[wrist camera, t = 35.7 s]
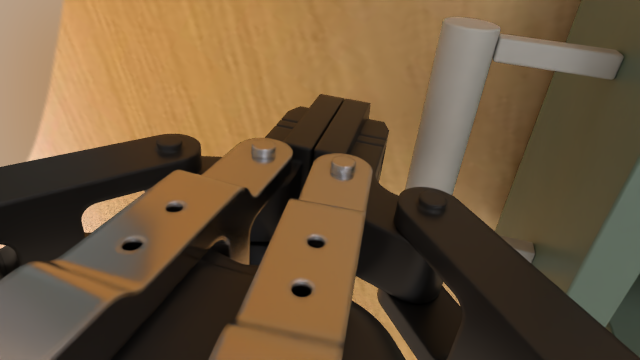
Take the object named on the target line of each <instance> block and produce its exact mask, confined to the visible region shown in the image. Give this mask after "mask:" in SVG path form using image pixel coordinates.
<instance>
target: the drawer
mask: <svg viewBox="0 0 640 360" xmlns="http://www.w3.org/2000/svg"><path fill="white" fill-rule="evenodd" d="M492 58H493V61H494V62H498V63H505V64H511V65H518V66H524V67H531V68H537V69H544V70H550V71H555V72H554V75H553V77H552V80H551V83H550V85H549V88H548V91H547V93H546V96H545V99H544V101H543V104H542V107H541V109H540V112H539V115H538V118H537V120H536V123H535V126H534V128H533V131H532V134H531V136H530V139H529V142H528V144H527V147H526V150H525V152H524V155H523V158H522V160H521V163H520V166H519V168H518V171H517V174H516V176H515V179H514V182H513V184H512V187H511V190H510V192H509V195H508V198H507V200H506V203H505V206H504V208H503V211H502V214H501V216H500V219H499V222H498V224H497V227H496V230H495V232H496V233H497V234H498V235H499V236H500V237H501V238H503V239H504V240H505V241H506V242H507V243H508V244H510V245H511V246H512V247H513V248H514V249H515V250H516V251H518V252H519V253H520V254H521V255H522V256H523V257H524V258H526V259H527V260H528V261H529V262H530V263H531V264H533V265H534V266H535V267H536V268H537V269H538V270H539V271H541V272H542V273H543V274H544V275H545V276H546V277H547V278H549V279H550V280H551V281H552V282H553V283H554V284H556V285H557V286H558V287H559V288H560V289H561V290H562V291H564V292H565V293H566V294H567V295H568V296H569V297H570V298H572V299H573V300H574V301H575V302H576V303H577V304H579V305H580V306H581V307H582V308H583V309H584V310H585V311H587V312H588V313H589V314H590V315H591V316H592V317H593V318H595V319H596V320H597V321H598V322H599V323H600V324H602V325H603V326H604V327H605V328H606V329H607V330H608V331H610V332H611V333H612V334H613V335H614V336H615V337H616V338H618V339H619V340H620V341H621V342H622V343H623V344H625V345H626V346H627V347H628V348H629V349H630V350H631V351H633V352H634V353H635V354H636V355H637V356H638V357H639V358H640V0H581V3H580V5H579V8H578V11H577V13H576V16H575V19H574V21H573V24H572V27H571V29H570V32H569V35H568V37H567V40H566V43H564V42H557V41H550V40H543V39H536V38H529V37H522V36H514V35H507V34H500V27H499V26H498V25H496V24H494V23H491V22H488V21H484V20H480V19H474V18H466V17H449V18H445V19H444V20H443V22H442V26H441V31H440V35H439V40H438V44H437V49H436V53H435V58H434V62H433V67H432V71H431V76H430V80H429V85H428V89H427V94H426V98H425V103H424V107H423V112H422V116H421V121H420V125H419V130H418V134H417V138H416V143H415V147H414V152H413V156H412V161H411V165H410V170H409V174H408V179H407V183H406V188H405V190H406V189H408V188H412V187H430V188H435V189H438V190H441V191H444V192H446V193H448V194H450V195H452V194H453V191H454V187H455V184H456V180H457V177H458V174H459V170H460V167H461V163H462V160H463V157H464V153H465V150H466V146H467V143H468V139H469V136H470V133H471V129H472V126H473V122H474V119H475V116H476V112H477V109H478V105H479V102H480V99H481V95H482V92H483V88H484V85H485V81H486V78H487V75H488V71H489V68H490V64H491V61H492Z"/></svg>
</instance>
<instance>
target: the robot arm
mask: <svg viewBox="0 0 640 360" xmlns="http://www.w3.org/2000/svg"><path fill="white" fill-rule="evenodd" d="M369 113H370V103H367V102H362V101H356V100H351V99H344V98H339V97H334V96H328V95H323V94H320V95H319V96H318V97H317V99H316V100H315V101H314V103H313V104H312V105H311V106H310V108H306V107H301V106H300V107H298V108H295V109H293V110H290V111H288V112H287V113H286V115H285V116H284V117H283V118H282V120H280V121H279V122H278V124H277V126H275V127H274V128H273V129H272V130H271V131H270V133H269V134H268V135H267V136H266V137H265V138H253V139H248V140H245V141H243V142H240V143H239V144H238V145H236V146H235V147H234V148H233V149H232V150H230V151H229V152H228V153H227V154H226V155H224V156H223V157H208V156H201V145H200V143H199V141H198V140H196V139H195V138H193V137H190V136H187V135H182V134H163V135H158V136H153V137H148V138H143V139H138V140H133V141H128V142H123V143H118V144H113V145H108V146H103V147H98V148H93V149H88V150H83V151H78V152H73V153H68V154H63V155H58V156H53V157H48V158H43V159H38V160H33V161H28V162H23V163H18V164H13V165H8V166H4V167H0V244H2V245H6V246H5V247H3V248H1V249H0V360H406V359H405V358H404V356H403V354H402V353H401V351H400V350H399V348H398V346H397V345H396V343H395V341H394V340H393V338H392V337H391V335H390V334H389V333H388V331H387V330H386V329H385V328H384V327H383V325H382V324H381V323H380V322H379V321H378V320H377V319H376V318H375V317H374V316H373V315H372V314H370V313H369V312H368V311H367V310H365V309H364V308H363V307H361V306H360V305H358V304H356V303H355V302H353V301H352V295H353V289H354V283H355V277H356V276H357V277H359V278H361V279H363V280H364V281H366V282H368V283H370V284H372V285H374V286H376V287H377V288H378V293H377V296H378V300H379V303H380V304H381V306H382V308H383V309H384V311H385V312H386V313H387V315H388V316H389V318H390V319H391V321H392V322H393V324H394V325H395V327H396V328H397V330H398V331H399V333H400V334H401V336H402V337H403V339H404V340H405V342H406V343H407V344H408V346H409V347H410V349H411V350H412V352H413V353H414V355H415V356H416V358H417V359H418V360H640V358H639V357H638V356H637V355H636V354H635V353H634V352H633V351H631V350H630V349H629V348H628V347H627V346H626V345H625V344H623V343H622V342H621V341H620V340H619V339H618V338H616V337H615V336H614V335H613V334H612V333H611V332H610V331H608V330H607V329H606V328H605V327H604V326H603V325H602V324H600V323H599V322H598V321H597V320H596V319H595V318H593V317H592V316H591V315H590V314H589V313H588V312H587V311H585V310H584V309H583V308H582V307H581V306H580V305H579V304H577V303H576V302H575V301H574V300H573V299H572V298H570V297H569V296H568V295H567V294H566V293H565V292H564V291H562V290H561V289H560V288H559V287H558V286H557V285H556V284H554V283H553V282H552V281H551V280H550V279H549V278H547V277H546V276H545V275H544V274H543V273H542V272H541V271H539V270H538V269H537V268H536V267H535V266H534V265H533V264H531V263H530V262H529V261H528V260H527V259H526V258H524V257H523V256H522V255H521V254H520V253H519V252H518V251H516V250H515V249H514V248H513V247H512V246H511V245H510V244H508V243H507V242H506V241H505V240H504V239H503V238H501V237H500V236H499V235H498V234H497V233H496V232H495V231H493V230H492V229H491V228H490V227H489V226H488V225H487V224H485V223H484V222H483V221H482V220H481V219H480V218H478V217H477V216H476V215H475V214H474V213H473V212H472V211H470V210H469V209H468V208H467V207H466V206H465V205H464V204H462V203H461V202H460V201H459V200H458V199H456V198H455V197H454V196H452V195H450V194H448V193H446V192H444V191H441V190H438V189H435V188H430V187H412V188H408V189H406V190H404V191H403V192H401V194H400V195H399V196H398V195H395V194H393V193H391V192H389V191H388V190H386V189H385V188H383V187H382V186H381V185H380V184H379V183H378V182H379V179H380V175H381V170H382V164H383V159H384V154H385V149H386V143H387V138H388V133H389V130H388V128H387V126H386V125H385V123H384V122H381V121H375V120H370V119H369ZM143 190H145V193H144V194H142V195H141V196H140V197H138V198H137V199H136V200H135V201H133V202H132V203H131V204H129V205H128V206H127V207H125V208H124V209H123V210H121V211H120V212H119V213H117V214H116V215H115V216H113V217H112V218H111V219H109V220H108V221H107V222H105V223H104V224H103V225H101V226H100V227H99V228H98V229H96V230H95V231H94V232H92V233H85V232H84V230H83V226H82V222H81V217H82V214H83V212H84V211H85V210H86V209H87V208H88V207H89V206H91V205H93V204H95V203H98V202H102V201H105V200H109V199H113V198H117V197H121V196H124V195H128V194H132V193H136V192H139V191H143ZM443 282H444V283H445V284H446V285H447V286H448V287H449V288H450V290H451V291H452V292H453V293H454V294H455V296H456V297H457V299H458V301H459V303H460V306H461V307H460V306H459V305H458V303H457V302H456V301H455V300H454V299H453V298H452V297H451V295H450V294H449V293H448V292H447V291H446V290H445V288H444V287H443V286H442V284H443Z"/></svg>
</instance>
